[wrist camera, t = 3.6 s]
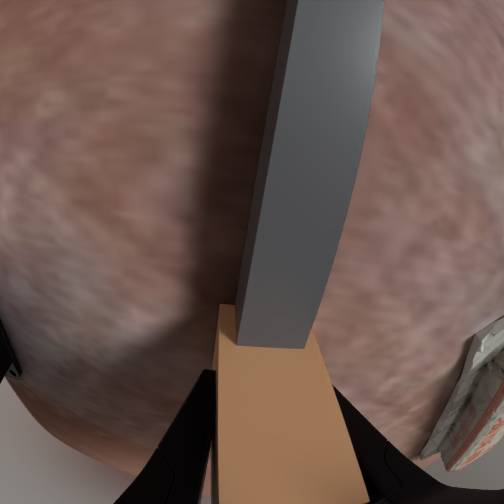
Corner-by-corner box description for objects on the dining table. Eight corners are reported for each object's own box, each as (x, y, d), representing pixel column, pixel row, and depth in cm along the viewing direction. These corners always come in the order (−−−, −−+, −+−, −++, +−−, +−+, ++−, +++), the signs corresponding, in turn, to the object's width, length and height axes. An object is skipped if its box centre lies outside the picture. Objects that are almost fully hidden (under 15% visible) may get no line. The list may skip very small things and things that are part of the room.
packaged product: (506, 441, 16) (431, 488, 16) (489, 411, 20) (416, 452, 20) (591, 311, 8) (515, 384, 8) (552, 276, 12) (469, 327, 13)
